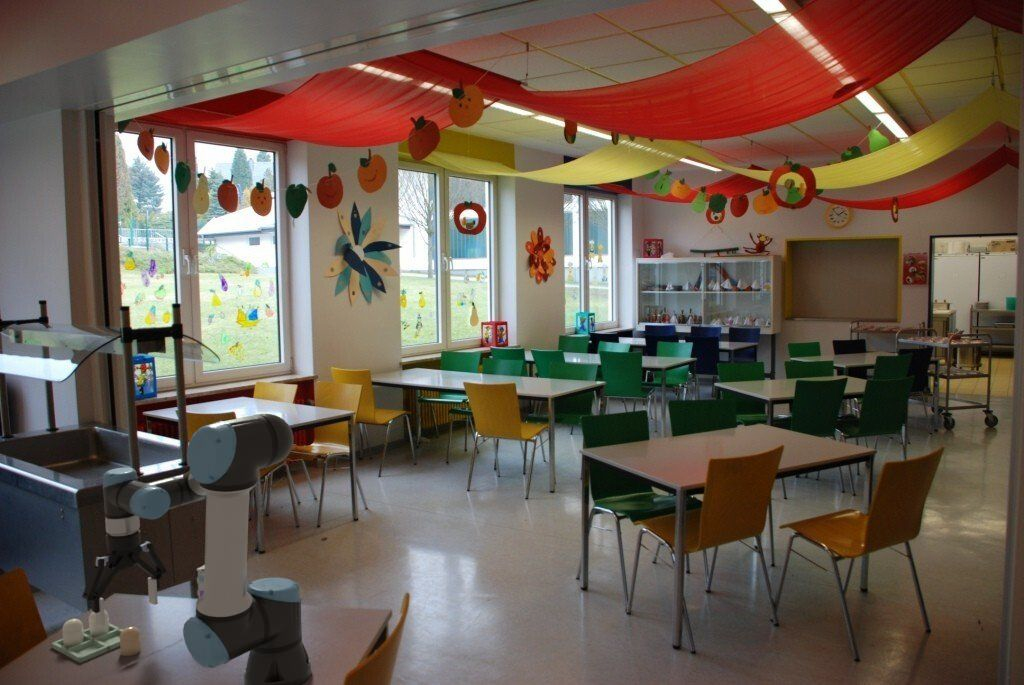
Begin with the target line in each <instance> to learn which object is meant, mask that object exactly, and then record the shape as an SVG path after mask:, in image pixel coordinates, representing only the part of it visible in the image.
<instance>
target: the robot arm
mask: <svg viewBox="0 0 1024 685" xmlns="http://www.w3.org/2000/svg"><path fill="white" fill-rule="evenodd" d="M294 440H295V439H294V433H293V430H292V428H291V426H290V425H289V423H287V421H286V420H285V419H283V418H282V417H280V416H278V415H275V414H272V413H258V414H253V415H249V416H248V415H247V416H243V417H238V418H234V419H229V420H224V421H223V420H219V421H216V422H213V423H210V424H207V425H204V426H201V427H200V428H198V429H197V430H196V431H195V432H194V433H193V434H192V436H191V438H190V440H189V442H188V445H187V448H186V449H187V451H186V464H187V466H188V467H189V471H187V472H185V473H182V474H178V475H175V476H170V477H166V478H162V479H158V480H157V479H156V480H154V481H150V482H142V481H140V480H138V479H139V477H138V472H137V470H136V469H135V468H132V467H117V468H113V469H109V470H107V471H105V473H103V476H102V477H103V478H102V481H103V482H102V484H103V485H102V491H103V492H102V493H103V504H104V505H103V506H104V518H105V519H104V521H105V532H106V533H107V534H106V535H105V540H106V549H107V554H106V556H101V557H100V556H95V557H94V559H93V568H92V571H91V573H90V575H89V578H88V581H87V582H86V585H85V588H84V590H83V593H82V598H83V599H84V600H87V601H91V612H94V613H96V623H98V624H100V625H102V626H103V625H105V614H104V610H105V600H104V598H103V597H102V596H103V594H104V593H105V591H106V589H107V588H108V587H109V585H110V583H111V581H112V580H113V578H114V577H115V575H117V574H118V572H119V571H123V570H125V569H127V568H132V567H134V565H136V566H138V567H139V568H140V569H142V570H143V571H144V572H145V573H147V574H148V575H149V576H150V577H147V585H148V586H147V588H148V593H147V594H148V603H150V604H152V605H155V606H156V605H158V604H159V603H158V600H159V599H158V590H160V587H161V586H160V579H162V578H163V577H162V576H163V574H164V575H165V574H166V573H167V568H166V567H165V566H164V564H163V562H162V561H161V559H160V557H159V556H158V554H157V553H156V551H155V550H154V548H155V547H154V544H153V542H150V541H147V540H145V541H144V542H143V543H142V544H141V542H142V541H141V530H140V527H141V523H140V518H141V519H145V520H146V519H147V520H156V519H159V518H161V517H162V516H164V514H166V513H167V512H168V510H172V509H175V508H178V507H181V506H186V505H188V504H192V503H196V502H200V501H204V500H205V501H206V502H205V537H204V539H205V540H204V564H205V568H204V594H203V595H202V596H201V597H200V598H199V599H198V598H197V600H196V602H195V616H191V617H189V619H187V620H186V621H185V622H184V624H183V628H182V634H183V640H184V643H185V646H186V648H187V650H188V652H189V653H190V656H191V657H192V658H193V659H194V661H195V662H196V663H197V664H199V665H200V666H201V667H204V669H205V668H206V669H214V668H217V667H219V666H221V665H226V664H229V662H230V661H232V660H234V659H236V658H238V657H240V656H242V655H244V654H247V653H248V652H249V654H248V657H247V662H246V666H245V668H244V671H243V681H244V682H243V683H244V685H302V683H303V682H304V683H305V682H306V681H307V680H308V679H309V678H310V676H311V674H312V666H311V665H312V664H311V659H310V657H309V654H308V653H307V650H306V647H305V645H304V643H303V631H302V628H303V626H302V605H301V604H302V597H301V591H300V586H299V584H298V583H297V582H296V581H294V580H292V579H289V578H285V577H265V578H259V579H256V580H255V579H254V580H253V581H251V582H250V583H249V584H248V586H247V567H248V566H247V564H248V543H249V541H248V540H249V539H248V537H249V509H250V507H249V506H250V491H251V490H253V489H254V488H255V487H256V486H257V484H258V472H259V470H260V469H261V470H262V469H264V468H265V469H266V468H269V467H271V466H273V465H276V464H278V463H280V462H282V461H284V460H285V459H286V458H287V457H288V456H289V455H290V454H291V451H292V449H293V445H294ZM142 552H144V553H145V554H146V556H147V557H148V559H149V561H150V563H152V565H153V567H154V568H152V566H150V565H149V564H147V563H146V562H145V561H144V559H142V558H141V557H140V555H141V553H142ZM107 563H108V564H107ZM105 566H106V567H105ZM246 587H247V588H246ZM308 677H309V678H308ZM304 683H303V684H304Z"/></svg>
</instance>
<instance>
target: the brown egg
mask: <svg viewBox="0 0 1024 685" xmlns="http://www.w3.org/2000/svg"><path fill="white" fill-rule="evenodd" d="M119 647H120V656H123V657H130V656H135V655H138V654H139V653H140V652H141V651H142V643H141V632H140V630H139V629H138V627H136V626H127V627H126V628H123V631H122V632H121V634H120V646H119Z"/></svg>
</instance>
